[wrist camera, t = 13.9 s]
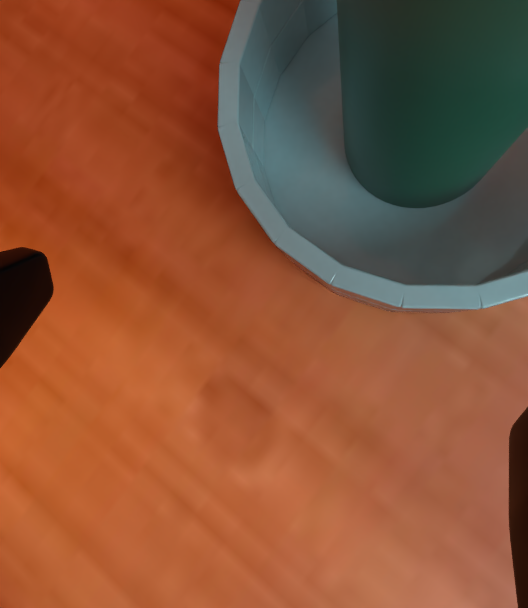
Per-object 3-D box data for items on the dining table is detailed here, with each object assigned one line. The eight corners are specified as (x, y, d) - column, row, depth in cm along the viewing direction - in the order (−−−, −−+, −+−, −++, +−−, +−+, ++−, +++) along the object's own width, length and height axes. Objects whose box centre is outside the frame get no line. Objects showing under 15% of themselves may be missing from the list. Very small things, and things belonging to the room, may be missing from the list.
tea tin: (527, 178, 15) (1230, -408, 3) (368, 232, 16) (413, -40, 4) (472, 34, 16) (871, -937, 4) (322, 95, 17) (242, -495, 5)
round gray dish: (676, 247, 15) (814, 214, 10) (304, 354, 17) (287, 364, 13) (541, -88, 16) (611, -244, 12) (214, 55, 18) (170, -28, 14)
